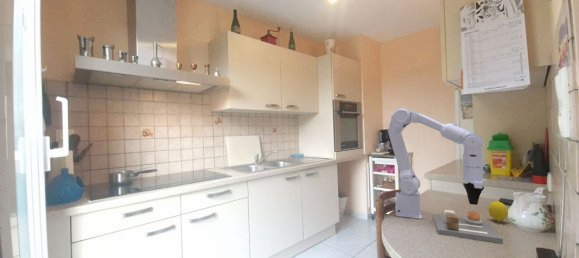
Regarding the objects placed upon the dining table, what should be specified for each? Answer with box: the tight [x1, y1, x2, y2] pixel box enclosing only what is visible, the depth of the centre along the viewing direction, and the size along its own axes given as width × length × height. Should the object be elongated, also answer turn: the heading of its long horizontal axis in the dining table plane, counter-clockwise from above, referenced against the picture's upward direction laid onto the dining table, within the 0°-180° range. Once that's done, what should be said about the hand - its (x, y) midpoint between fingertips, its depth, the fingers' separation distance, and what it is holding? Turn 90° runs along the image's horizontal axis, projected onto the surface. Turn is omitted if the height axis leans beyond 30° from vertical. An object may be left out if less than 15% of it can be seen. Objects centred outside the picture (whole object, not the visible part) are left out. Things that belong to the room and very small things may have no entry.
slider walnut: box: [446, 214, 460, 230], centre depth 82 cm, size 3×3×4 cm
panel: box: [432, 214, 504, 244], centre depth 85 cm, size 17×16×2 cm
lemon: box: [488, 200, 509, 223], centre depth 92 cm, size 6×6×8 cm
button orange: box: [466, 210, 481, 220], centre depth 88 cm, size 4×4×2 cm
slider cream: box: [443, 209, 456, 223], centre depth 87 cm, size 3×3×4 cm
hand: (473, 204), depth 88 cm, fingers closed
